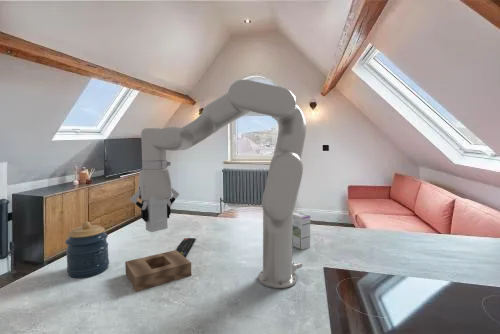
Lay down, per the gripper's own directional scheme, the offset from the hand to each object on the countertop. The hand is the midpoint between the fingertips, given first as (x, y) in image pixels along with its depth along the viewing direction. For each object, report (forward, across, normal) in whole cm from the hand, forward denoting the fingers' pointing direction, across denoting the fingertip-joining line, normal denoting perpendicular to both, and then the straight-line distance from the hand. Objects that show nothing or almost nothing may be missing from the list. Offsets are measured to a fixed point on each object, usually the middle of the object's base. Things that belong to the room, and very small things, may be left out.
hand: (156, 218), depth 95 cm
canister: (+20, +19, -18) cm, 33 cm away
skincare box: (+4, 0, 0) cm, 4 cm away
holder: (+20, 0, 0) cm, 20 cm away
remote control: (+20, -16, -17) cm, 31 cm away
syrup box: (+20, -58, +10) cm, 62 cm away
